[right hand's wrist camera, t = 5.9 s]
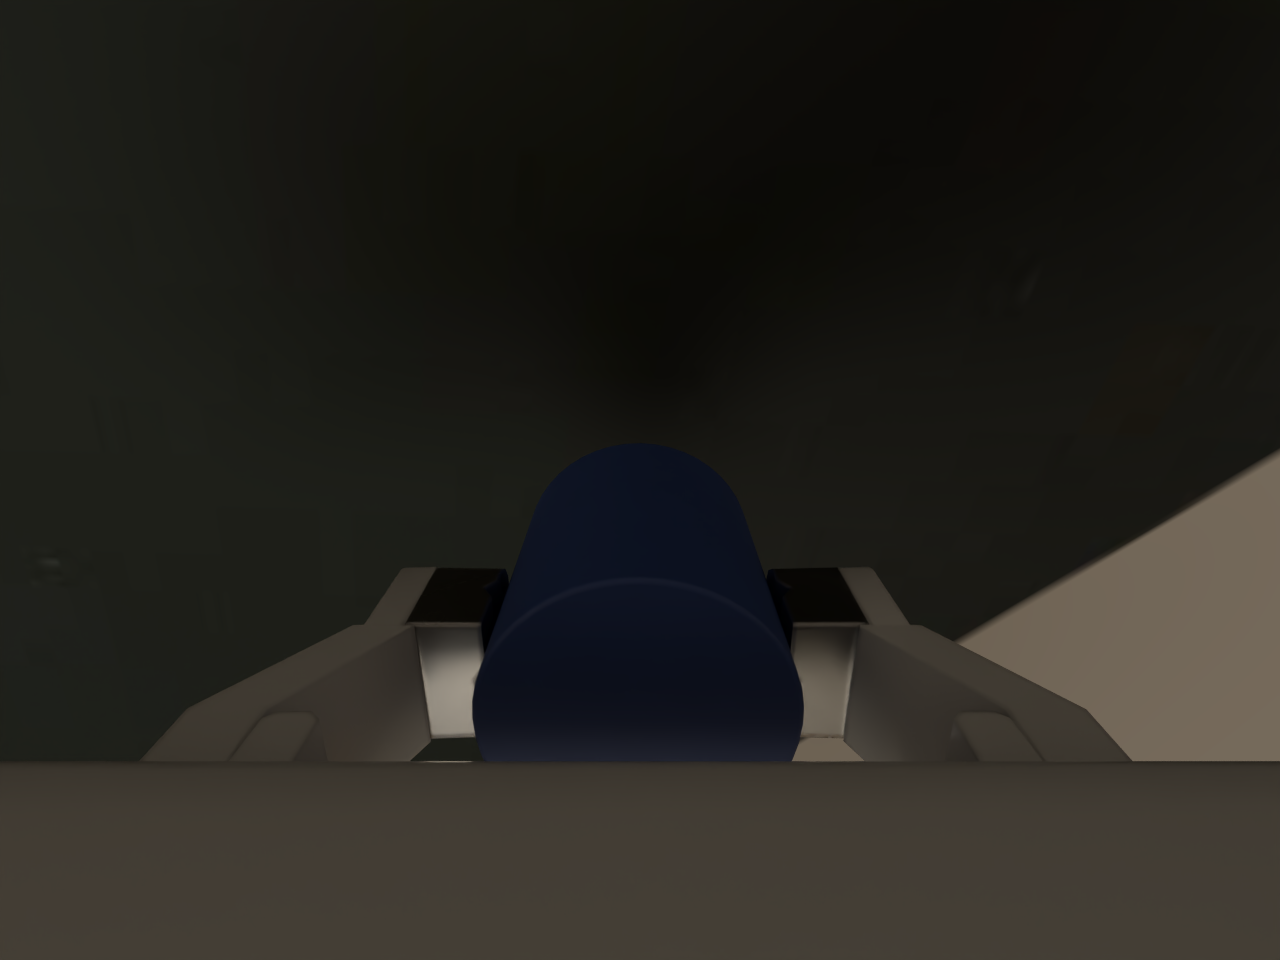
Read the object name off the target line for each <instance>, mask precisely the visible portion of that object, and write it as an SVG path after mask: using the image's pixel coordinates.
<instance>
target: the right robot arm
mask: <svg viewBox="0 0 1280 960" xmlns="http://www.w3.org/2000/svg"><path fill="white" fill-rule="evenodd" d="M766 581H767V584H768V587H769V590H770V593H771V596H772V599H773V601H774V604H775V607H776V610H777V613H778V616H779V619H780V622H781V625H782V628H783V631H784V634H785V637H786V639H787V642H788V645H789V648H790V651H791V654H792V657H793V660H794V663H795V666H796V669H797V672H798V675H799V679H800V682H801V686H802V691H803V700H804V718H803V727H802V731H801V736H800V737H817V738H844V742H845V743H846V744H847V745H848V746H849V747H851V748H852V749H853V750H854V751H855V752H856V753H857V754H858V755H859V756H860V757H861V758H862V759H863V760H864V761H410V760H411V759H412V758H413V757H414V756H415V755H417V754H418V753H419V752H420V751H421V750H422V749H423V748H424V747H425V746H426V745H427V744H428V743H430V742H431V740H430V738H456V737H475V732H474V726H473V720H472V698H473V692H474V685H475V681H476V678H477V675H478V672H479V669H480V666H481V663H482V661H483V658H484V655H485V652H486V649H487V646H488V643H489V640H490V638H491V635H492V632H493V629H494V626H495V623H496V620H497V618H498V615H499V612H500V609H501V606H502V603H503V600H504V598H505V595H506V592H507V589H508V586H509V581H508V575H507V572H506V570H505V569H487V568H438V567H414V568H403V569H402V570H401V571H400V572H399V573H398V575H397V576H396V578H395V579H394V581H393V582H392V584H391V585H390V587H389V588H388V590H387V591H386V593H385V594H384V596H383V597H382V599H381V600H380V602H379V603H378V605H377V606H376V608H375V609H374V611H373V612H372V614H371V615H370V617H369V618H368V620H367V621H366V622H365V624H364V625H352V626H350V627H348V628H347V629H345V630H343V631H341V632H339V633H337V634H335V635H333V636H331V637H329V638H327V639H325V640H323V641H321V642H319V643H317V644H315V645H313V646H311V647H309V648H307V649H305V650H303V651H301V652H299V653H297V654H295V655H293V656H291V657H289V658H287V659H285V660H283V661H281V662H279V663H277V664H275V665H273V666H271V667H269V668H267V669H265V670H263V671H261V672H259V673H257V674H255V675H253V676H251V677H249V678H247V679H245V680H243V681H241V682H239V683H237V684H235V685H233V686H231V687H229V688H227V689H225V690H223V691H221V692H219V693H217V694H215V695H213V696H211V697H209V698H207V699H205V700H203V701H201V702H199V703H197V704H195V705H193V706H191V707H189V708H187V709H186V711H185V712H184V713H183V714H182V715H181V716H180V717H179V718H178V719H177V720H176V721H175V723H174V724H173V725H172V726H171V727H170V728H169V729H168V730H167V731H166V732H165V733H164V735H163V736H162V737H161V738H160V739H159V740H158V741H157V742H156V743H155V744H154V746H153V747H152V748H151V749H150V750H149V751H148V752H147V753H146V754H145V755H144V756H143V758H142V759H141V760H140V761H0V960H1280V761H1132V760H1131V759H1130V758H1129V757H1128V756H1127V754H1126V753H1125V752H1124V751H1123V750H1122V749H1121V748H1120V747H1119V746H1118V744H1117V743H1116V742H1115V741H1114V740H1113V739H1112V738H1111V737H1110V735H1109V734H1108V733H1107V732H1106V731H1105V730H1104V729H1103V728H1102V726H1101V725H1100V724H1099V723H1098V722H1097V721H1096V720H1095V719H1094V718H1093V716H1092V715H1091V714H1090V713H1089V712H1088V711H1087V710H1086V709H1084V708H1082V707H1080V706H1079V705H1077V704H1075V703H1073V702H1071V701H1069V700H1067V699H1065V698H1063V697H1061V696H1059V695H1057V694H1055V693H1053V692H1051V691H1049V690H1047V689H1045V688H1043V687H1041V686H1039V685H1037V684H1035V683H1033V682H1031V681H1029V680H1027V679H1025V678H1023V677H1022V676H1020V675H1018V674H1016V673H1014V672H1012V671H1010V670H1008V669H1006V668H1004V667H1002V666H1000V665H998V664H996V663H994V662H992V661H990V660H988V659H986V658H984V657H982V656H980V655H978V654H976V653H974V652H972V651H970V650H968V649H966V648H964V647H963V646H961V645H959V644H957V643H955V642H953V641H951V640H949V639H947V638H945V637H943V636H941V635H939V634H937V633H935V632H933V631H931V630H929V629H927V628H925V627H923V626H921V625H910V624H909V623H908V621H907V620H906V618H905V617H904V615H903V614H902V612H901V611H900V609H899V608H898V606H897V605H896V603H895V602H894V600H893V599H892V597H891V596H890V594H889V593H888V591H887V590H886V588H885V587H884V585H883V584H882V582H881V581H880V579H879V578H878V576H877V575H876V573H875V572H874V570H873V569H871V568H869V567H851V568H796V569H771V570H768V575H767V579H766Z"/></svg>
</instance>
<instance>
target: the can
mask: <svg viewBox="0 0 1280 960" xmlns="http://www.w3.org/2000/svg"><path fill="white" fill-rule="evenodd" d="M803 718H804V700H803V691H802V686H801V682H800V679H799V675H798V672H797V669H796V666H795V663H794V660H793V657H792V654H791V651H790V648H789V645H788V642H787V639H786V637H785V634H784V631H783V628H782V625H781V622H780V619H779V616H778V613H777V610H776V607H775V604H774V601H773V599H772V596H771V593H770V590H769V587H768V584H767V581H766V578H765V575H764V572H763V569H762V566H761V563H760V561H759V558H758V555H757V552H756V549H755V546H754V543H753V540H752V537H751V534H750V531H749V528H748V526H747V523H746V520H745V517H744V514H743V511H742V509H741V506H740V504H739V502H738V500H737V498H736V496H735V495H734V493H733V492H732V490H731V488H730V487H729V486H728V485H727V483H726V482H725V481H724V480H723V479H722V478H721V476H719V475H718V474H717V473H716V472H715V471H714V470H713V469H712V468H710V467H709V466H708V465H706V464H705V463H703V462H702V461H700V460H699V459H697V458H695V457H693V456H691V455H689V454H687V453H685V452H682V451H679V450H676V449H673V448H670V447H665V446H660V445H655V444H643V443H637V444H623V445H617V446H611V447H607V448H604V449H601V450H598V451H595V452H593V453H591V454H588V455H586V456H584V457H582V458H580V459H579V460H577V461H575V462H574V463H572V464H571V465H569V466H568V467H567V468H566V469H564V470H563V471H562V472H561V473H560V474H559V475H558V476H557V477H556V478H555V479H554V480H553V481H552V482H551V483H550V484H549V486H548V487H547V489H546V490H545V492H544V493H543V495H542V496H541V498H540V500H539V502H538V504H537V506H536V509H535V512H534V514H533V517H532V520H531V523H530V526H529V529H528V532H527V535H526V537H525V540H524V543H523V546H522V549H521V552H520V555H519V557H518V560H517V563H516V566H515V569H514V572H513V575H512V577H511V580H510V583H509V586H508V589H507V592H506V595H505V598H504V600H503V603H502V606H501V609H500V612H499V615H498V618H497V620H496V623H495V626H494V629H493V632H492V635H491V638H490V640H489V643H488V646H487V649H486V652H485V655H484V658H483V661H482V663H481V666H480V669H479V672H478V675H477V678H476V681H475V685H474V692H473V698H472V720H473V726H474V732H475V737H476V740H477V743H478V746H479V749H480V752H481V755H482V757H483V759H484V761H792V759H793V757H794V754H795V751H796V749H797V746H798V744H799V740H800V736H801V731H802V727H803Z"/></svg>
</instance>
